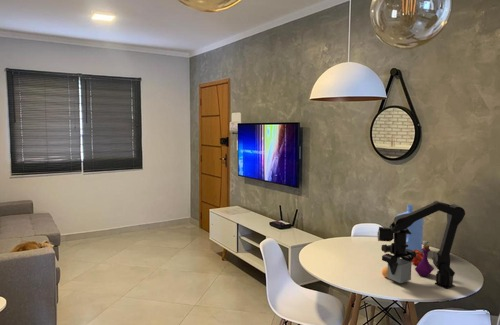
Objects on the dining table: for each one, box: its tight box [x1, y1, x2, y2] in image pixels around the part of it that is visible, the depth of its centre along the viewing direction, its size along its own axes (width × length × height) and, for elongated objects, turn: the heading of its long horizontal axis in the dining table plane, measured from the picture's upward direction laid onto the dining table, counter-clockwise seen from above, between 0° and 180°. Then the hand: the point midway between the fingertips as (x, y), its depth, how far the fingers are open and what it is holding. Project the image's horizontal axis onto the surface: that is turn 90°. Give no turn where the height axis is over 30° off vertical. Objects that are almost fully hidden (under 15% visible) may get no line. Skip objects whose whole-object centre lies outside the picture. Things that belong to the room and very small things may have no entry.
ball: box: [381, 266, 388, 278], centre depth 191 cm, size 5×5×5 cm
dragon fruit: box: [411, 250, 424, 267], centre depth 209 cm, size 8×8×12 cm
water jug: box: [396, 204, 424, 252], centre depth 231 cm, size 16×16×28 cm
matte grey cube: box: [386, 258, 413, 284], centre depth 185 cm, size 8×8×9 cm
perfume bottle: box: [414, 240, 435, 277], centre depth 194 cm, size 8×8×18 cm
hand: (398, 272), depth 185 cm, fingers closed on matte grey cube, 8 cm apart
